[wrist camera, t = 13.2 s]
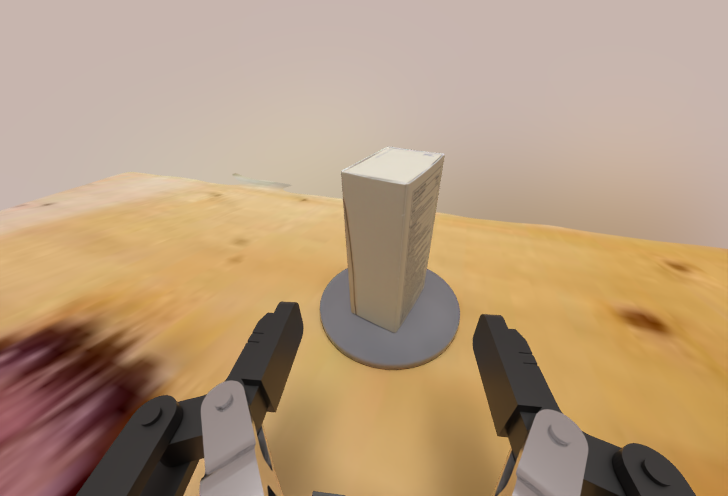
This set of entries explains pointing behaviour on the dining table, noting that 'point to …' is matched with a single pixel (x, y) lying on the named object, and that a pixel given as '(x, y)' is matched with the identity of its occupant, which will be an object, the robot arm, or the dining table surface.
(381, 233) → the skincare box
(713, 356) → the dining table surface
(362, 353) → the coaster
